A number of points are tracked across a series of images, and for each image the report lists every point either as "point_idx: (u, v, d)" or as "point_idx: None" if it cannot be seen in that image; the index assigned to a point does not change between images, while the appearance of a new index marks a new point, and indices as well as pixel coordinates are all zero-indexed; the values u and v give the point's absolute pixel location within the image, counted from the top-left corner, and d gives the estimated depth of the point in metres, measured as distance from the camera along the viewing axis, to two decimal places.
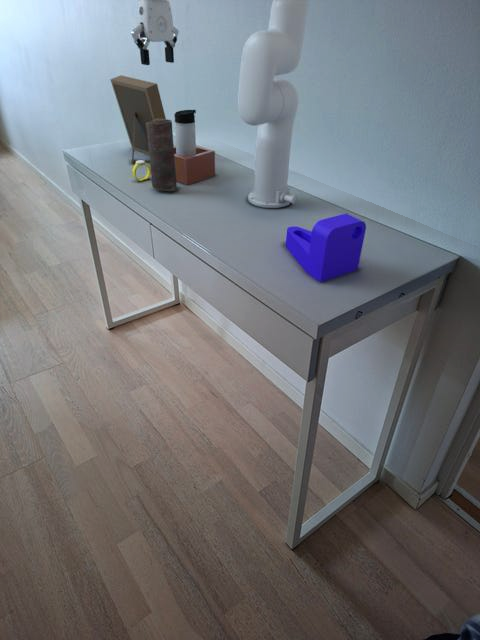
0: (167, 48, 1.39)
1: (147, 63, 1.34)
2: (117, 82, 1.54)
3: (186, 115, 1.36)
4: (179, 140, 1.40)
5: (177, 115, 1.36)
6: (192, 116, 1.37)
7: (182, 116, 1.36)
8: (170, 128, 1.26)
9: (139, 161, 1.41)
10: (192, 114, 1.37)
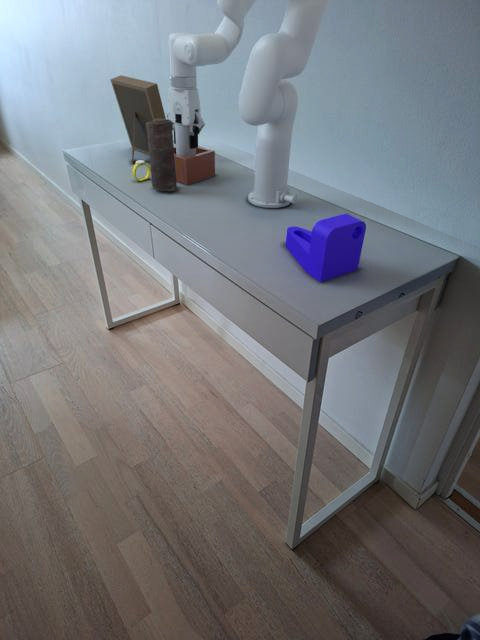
0: None
1: None
2: (117, 82, 1.54)
3: None
4: (179, 140, 1.40)
5: (177, 115, 1.36)
6: None
7: None
8: (170, 128, 1.26)
9: (139, 161, 1.41)
10: None
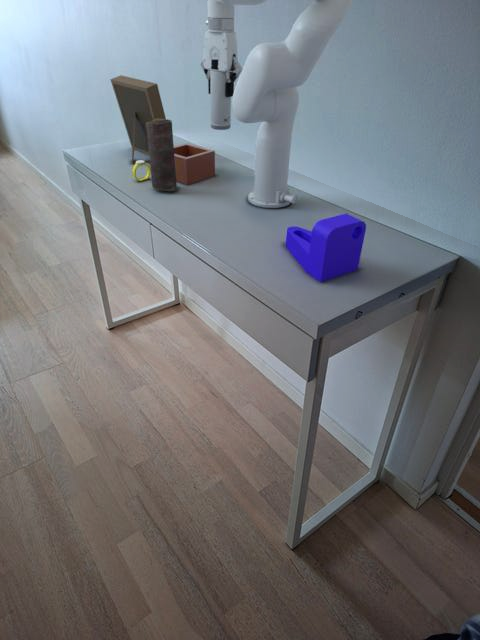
0: None
1: None
2: (117, 82, 1.54)
3: None
4: (214, 88, 1.36)
5: (214, 60, 1.32)
6: None
7: None
8: (170, 128, 1.26)
9: (139, 161, 1.41)
10: None
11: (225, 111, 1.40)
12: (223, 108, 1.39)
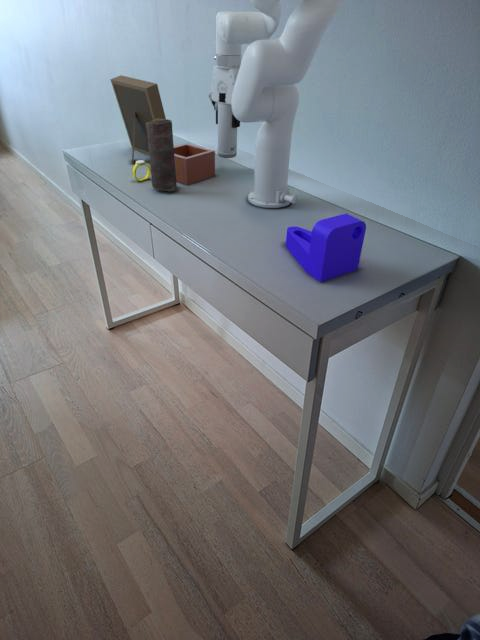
0: None
1: None
2: (117, 82, 1.54)
3: None
4: (222, 119, 1.42)
5: (221, 94, 1.38)
6: None
7: None
8: (170, 128, 1.26)
9: (139, 161, 1.41)
10: None
11: (231, 141, 1.46)
12: (230, 138, 1.45)
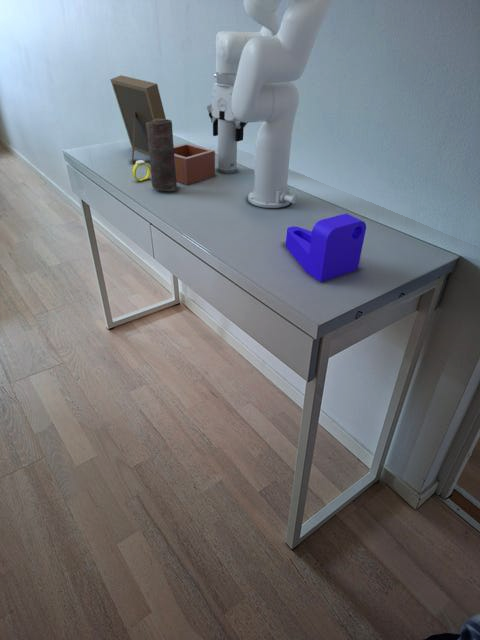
0: None
1: None
2: (117, 82, 1.54)
3: None
4: (222, 136, 1.45)
5: (221, 112, 1.41)
6: None
7: None
8: (170, 128, 1.26)
9: (139, 161, 1.41)
10: None
11: (231, 157, 1.49)
12: (230, 154, 1.48)
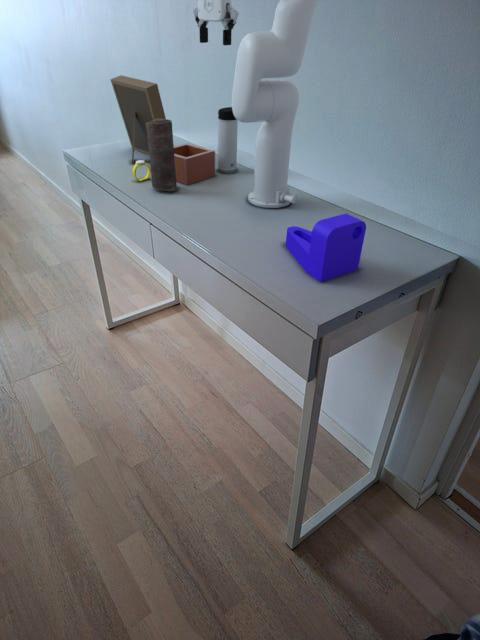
0: None
1: None
2: (117, 82, 1.54)
3: (230, 112, 1.41)
4: (222, 136, 1.45)
5: (221, 112, 1.41)
6: None
7: (226, 113, 1.41)
8: (170, 128, 1.26)
9: (139, 161, 1.41)
10: None
11: (231, 157, 1.49)
12: (230, 154, 1.48)
